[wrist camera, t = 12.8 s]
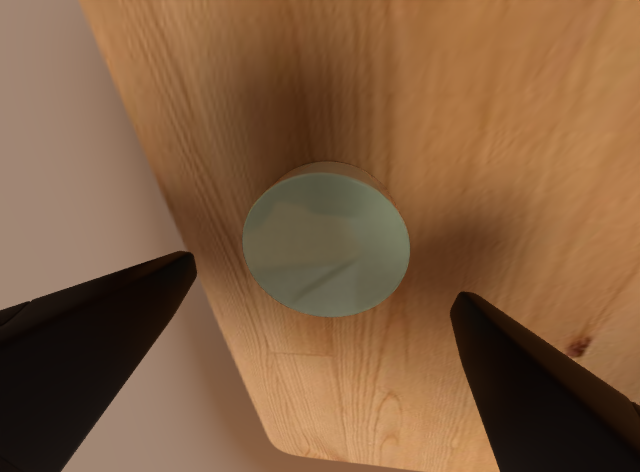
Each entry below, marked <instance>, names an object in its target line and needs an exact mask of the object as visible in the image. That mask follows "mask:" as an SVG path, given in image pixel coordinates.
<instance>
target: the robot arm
mask: <svg viewBox="0 0 640 472" xmlns="http://www.w3.org/2000/svg"><path fill="white" fill-rule="evenodd" d="M196 276H197V268H196V264H195V259H194V255H193V254H192V253H191V252H185V251H177V252H174V253H171V254H168V255H165V256H162V257H159V258H156V259H154V260H151V261H147V262H144V263H141V264H138V265H135V266H132V267H129V268H126V269H123V270H120V271H118V272H114V273H111V274H108V275H105V276H102V277H100V278H96V279H93V280H91V281H87V282H84V283H81V284H78V285H75V286H73V287H69V288H67V289H63V290H60V291H57V292H54V293H51V294H48V295H46V296H42V297H40V298H36V299H34V300H32V301H31V302H30V301H28V302H24V303H21V304H18V305H16V306H12V307H9V308H6V309H3V310H0V472H61V471H62V469H63V468H64V467H65V465H66V464H67V462H68V461H69V460H70V458H71V457H72V455H73V454H74V452H75V451H76V450H77V449H78V447H79V446H80V445H81V443H82V442H83V440H84V439H85V438H86V436H87V435H88V433H89V432H90V431H91V429H92V428H93V427H94V425H95V424H96V422H97V421H98V420H99V418H100V417H101V415H102V414H103V413H104V411H105V410H106V409H107V407H108V406H109V404H110V403H111V402H112V400H113V399H114V397H115V396H116V395H117V393H118V392H119V391H120V389H121V388H122V386H123V385H124V384H125V382H126V381H127V380H128V378H129V377H130V375H131V374H132V373H133V371H134V370H135V369H136V367H137V366H138V364H139V363H140V362H141V360H142V359H143V358H144V356H145V355H146V354H147V352H148V351H149V349H150V348H151V347H152V345H153V344H154V342H155V341H156V339H157V338H158V337H159V335H160V334H161V333H162V331H163V330H164V329H165V327H166V326H167V325H168V323H169V322H170V320H171V319H172V317H173V316H174V314H175V313H176V311H177V309H178V308H179V306H180V304H181V303H182V301H183V299H184V297H185V296H186V294H187V292H188V291H189V289H190V287H191V285H192V284H193V282H194V280H195V279H196ZM450 318H451V322H452V326H453V331H454V335H455V339H456V343H457V347H458V351H459V355H460V359H461V362H462V366H463V369H464V372H465V374H466V377H467V380H468V383H469V386H470V388H471V391H472V394H473V397H474V400H475V402H476V405H477V408H478V411H479V414H480V417H481V419H482V422H483V425H484V428H485V431H486V433H487V436H488V439H489V442H490V445H491V447H492V450H493V453H494V456H495V459H496V461H497V464H498V467H499V470H500V472H640V406H639V405H638V404H636V403H635V402H631V401H630V400H629V398H627V397H626V396H624V395H623V394H622V393H620V392H619V391H617V390H616V389H614V388H613V387H611V386H610V385H608V384H607V383H605V382H604V381H603V380H601V379H600V378H598V377H597V376H595V375H594V374H592V373H591V372H589V371H588V370H587V369H585V368H584V367H582V366H581V365H579V364H578V363H576V362H575V361H573V360H572V359H571V358H569V357H568V356H566V355H565V354H563V353H562V352H560V351H559V350H557V349H556V348H555V347H553V346H552V345H550V344H549V343H547V342H546V341H544V340H543V339H541V338H540V337H539V336H537V335H536V334H534V333H533V332H531V331H530V330H528V329H527V328H525V327H524V326H522V325H521V324H520V323H518V322H517V321H515V320H514V319H512V318H511V317H509V316H508V315H506V314H505V313H504V312H502V311H501V310H499V309H498V308H496V307H495V306H493V305H492V304H490V303H489V302H488V301H486V300H485V299H483V298H482V297H480V296H479V295H477V294H476V293H472V292H465V291H462V292H460V293H459V294H458V295H457V297H456V299H455V301H454V303H453V305H452V307H451V310H450Z"/></svg>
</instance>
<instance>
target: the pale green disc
mask: <svg viewBox="0 0 640 472" xmlns="http://www.w3.org/2000/svg"><path fill="white" fill-rule="evenodd" d="M242 247H243V253H244V257H245V260H246V264H247V266H248V268H249V270H250V272H251V274H252V276H253V277H254V279H255V280H256V281H257V283H258V284H259V285H260V286H261V288H262V289H263V290H264V291H265V292H266V293H268V294H269V295H270V296H271V297H272V298H274V299H275V300H277V301H278V302H280V303H281V304H283V305H285V306H287V307H289V308H291V309H293V310H296V311H298V312H301V313H305V314H308V315H313V316H320V317H344V316H350V315H354V314H358V313H361V312H364V311H366V310H369V309H371V308H373V307H375V306H377V305H378V304H380V303H381V302H383V301H384V300H385V299H387V298H388V297H389V296H390V295H391V294H392V293H393V292H394V291H395V289H396V288H397V287H398V286H399V284H400V283H401V281H402V279H403V277H404V275H405V273H406V270H407V268H408V264H409V259H410V239H409V235H408V230H407V227H406V225H405V223H404V220H403V218H402V216H401V214H400V212H399V210H398V208H397V206H396V204H395V202H394V200H393V198H392V197H391V195H390V193H389V192H388V191H387V189H386V188H385V187H384V186H383V185H382V184H381V183H380V182H379V181H378V180H377V179H376V178H375V177H373V176H372V175H370V174H369V173H367V172H366V171H364V170H362V169H360V168H358V167H355V166H352V165H349V164H346V163H340V162H331V161H323V162H314V163H309V164H305V165H302V166H300V167H297V168H295V169H293V170H291V171H290V172H288V173H286V174H285V175H284V176H282V177H281V178H280V179H279V180H277V181H276V182H275V183H274V184H273V185H272V186H271V187H270V188H269V189H267V190H266V191H265V192H264V193H263V194H262V195H261V196H260V197H259V198H258V199H257V200H256V202H255V203H254V205H253V206H252V208H251V209H250V211H249V213H248V215H247V217H246V220H245V224H244V227H243V235H242Z"/></svg>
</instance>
